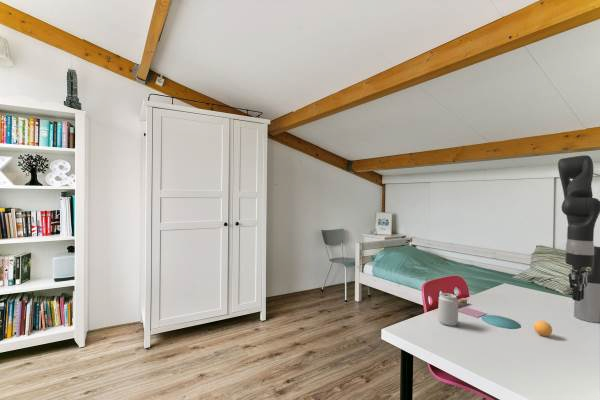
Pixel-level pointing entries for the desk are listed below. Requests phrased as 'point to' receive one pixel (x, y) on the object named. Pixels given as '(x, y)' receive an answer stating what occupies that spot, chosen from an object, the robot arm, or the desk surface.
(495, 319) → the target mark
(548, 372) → the desk surface
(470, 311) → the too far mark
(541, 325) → the ball
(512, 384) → the desk surface
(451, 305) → the can
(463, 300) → the stopper
